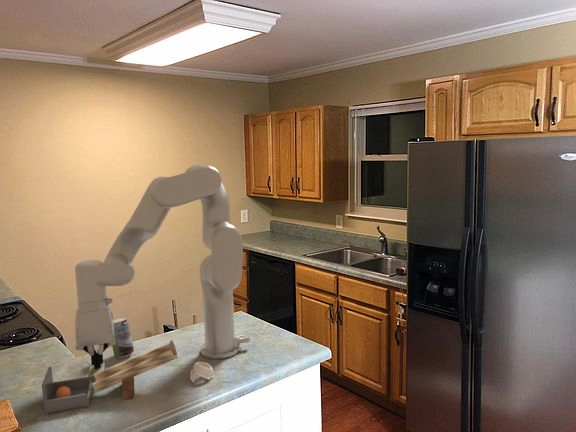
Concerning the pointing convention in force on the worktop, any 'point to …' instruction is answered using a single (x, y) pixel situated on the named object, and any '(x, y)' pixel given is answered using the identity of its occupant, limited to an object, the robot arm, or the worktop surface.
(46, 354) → the worktop surface
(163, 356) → the lever
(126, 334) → the beverage can
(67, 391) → the ball
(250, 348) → the worktop surface
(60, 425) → the worktop surface
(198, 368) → the grey hollow rounded piece
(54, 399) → the bin
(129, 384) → the fulcrum
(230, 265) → the robot arm
